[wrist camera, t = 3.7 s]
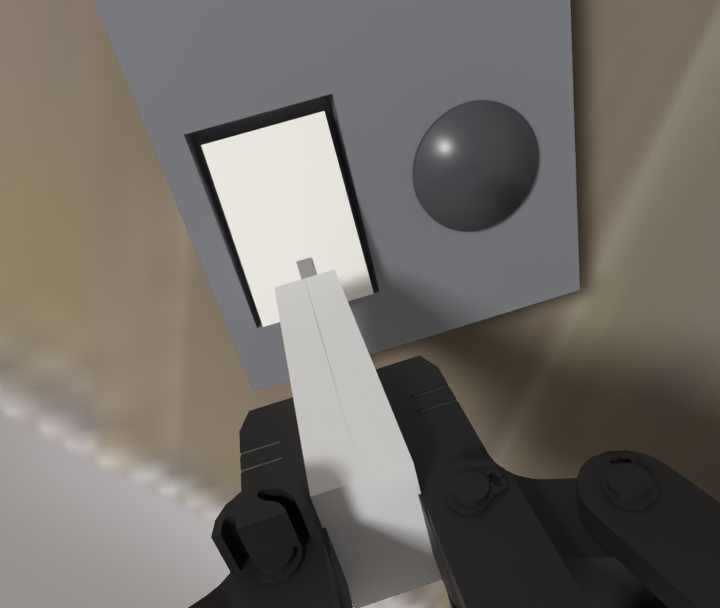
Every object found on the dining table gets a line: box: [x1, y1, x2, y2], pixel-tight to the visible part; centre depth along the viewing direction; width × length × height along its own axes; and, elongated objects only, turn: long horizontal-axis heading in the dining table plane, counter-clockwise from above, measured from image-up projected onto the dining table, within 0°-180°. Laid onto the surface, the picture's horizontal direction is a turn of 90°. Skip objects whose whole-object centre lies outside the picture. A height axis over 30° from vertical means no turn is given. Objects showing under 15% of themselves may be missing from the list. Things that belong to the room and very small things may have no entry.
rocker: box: [201, 111, 374, 327], centre depth 15 cm, size 5×3×1 cm, turn 13°
